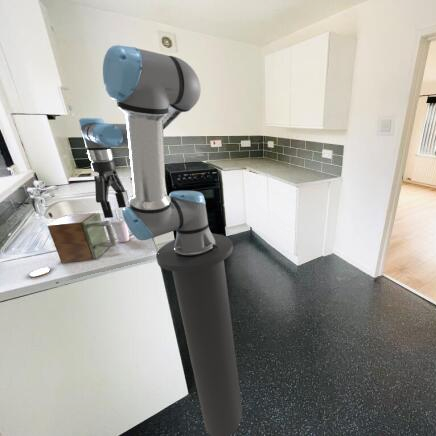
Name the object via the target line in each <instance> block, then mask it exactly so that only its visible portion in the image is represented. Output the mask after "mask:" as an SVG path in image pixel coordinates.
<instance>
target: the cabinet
mask: <svg viewBox="0 0 436 436" xmlns="http://www.w3.org/2000/svg"><path fill="white" fill-rule="evenodd" d="M96 213H97V212H88V213H77V214H75V213H74V214H66V215H64V216H62V217H60V218H58V219H56V220H55V221H53V222H50V223H49V224H47V225H46V226H47V229H48V231H49V234H50V236H51V239H52V242H53V244H54V247H55V250H56V252H57V256H58V257H59V260H60V262H61V264H66V263H74V262H75V263H76V262H83V261H91V260H94V259H93V256H92V253H91V250H90V247H89V244H88V241H87V238H86V235H85V232H84V229H83V226H82V222H84V221H85V220H87V219H88V218H90V217H91V216H93V215H95V214H96Z"/></svg>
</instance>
